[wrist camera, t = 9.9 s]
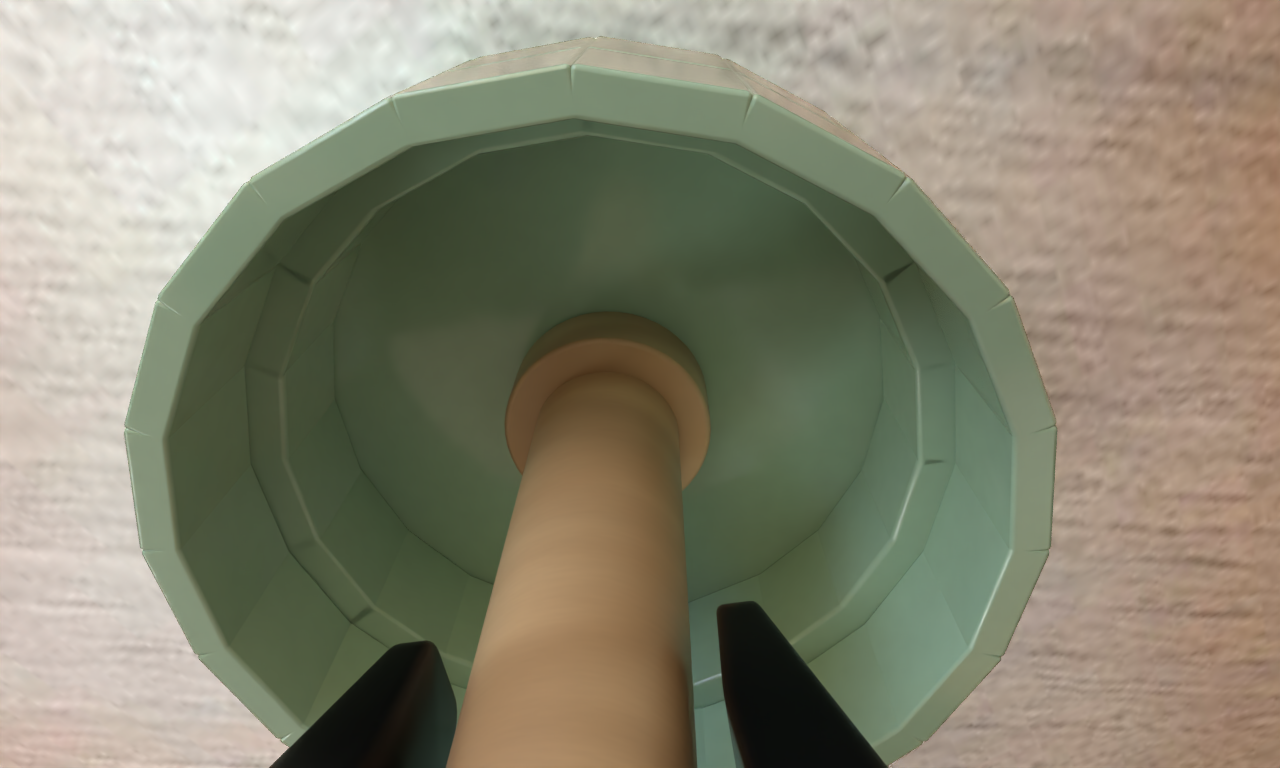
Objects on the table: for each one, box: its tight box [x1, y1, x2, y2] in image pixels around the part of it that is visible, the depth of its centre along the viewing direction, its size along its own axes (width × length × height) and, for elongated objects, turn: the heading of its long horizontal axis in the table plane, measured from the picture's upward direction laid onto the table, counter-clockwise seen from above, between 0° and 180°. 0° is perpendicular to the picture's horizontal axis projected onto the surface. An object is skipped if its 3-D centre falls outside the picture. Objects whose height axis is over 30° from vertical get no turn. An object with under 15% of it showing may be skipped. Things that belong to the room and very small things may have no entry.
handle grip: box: [446, 311, 711, 768], centre depth 8 cm, size 3×3×12 cm
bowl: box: [124, 36, 1057, 768], centre depth 12 cm, size 11×11×5 cm
